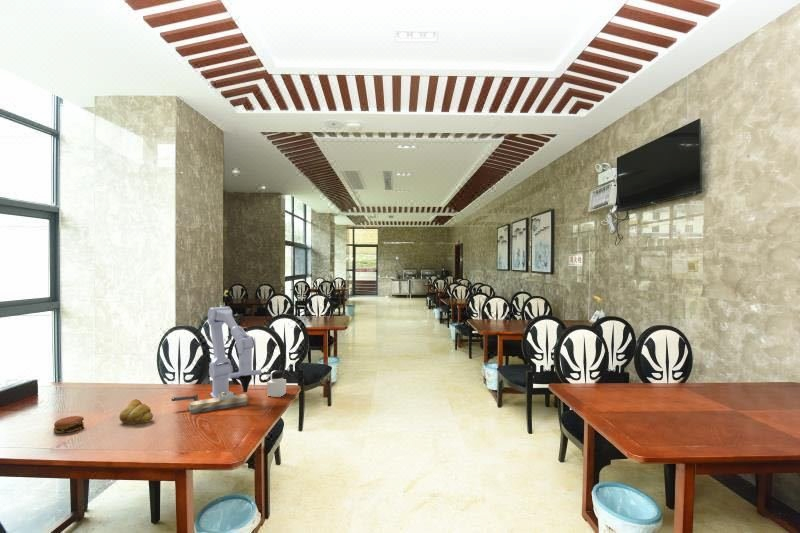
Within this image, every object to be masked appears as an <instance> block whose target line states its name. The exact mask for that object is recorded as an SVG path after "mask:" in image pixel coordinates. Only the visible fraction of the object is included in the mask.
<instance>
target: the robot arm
mask: <svg viewBox="0 0 800 533" xmlns="http://www.w3.org/2000/svg"><path fill="white" fill-rule="evenodd" d="M207 320H208V325H209V326H210V332H211V334H210V335H211V342H212V350H213V359H212V360H211V362H209V367H208V368H209V369H208V375H209V376H210V378H211V379H212V392H210V395H211V397H212V398H218V393H222V392H229V385H230V384H229V379H231V380H232V379H235V378H237V379H238V380H239V382H240V384H241V387H242V392H243V393H247V392H248V388H249V386H250V383H251V381H252V379H253V376H261V375H262V370H261V369H257V370H255V369H254V370H252V366H253V365H252V364H253V363H252V362H253V361H252V357H253V356H252V354H253V348H254V347H255V344H256V343H255V339H254V337H253V336H250V335H249V334H247V332H246V331H245V330H244V328H243V327H242V326H241V325H238V323H237V322H236V319H235V318H234V316H233V310H232V308H231V307H230V306H227V305H226V306H220V307H219V306H218V307H217V306H216V307H210V308H209V309H208V312H207ZM224 324H225V325H226V326H228V328H229V329H230V334H231V336H232V338H233V339H234V340H235V342H236V343H235V346H236V349H237V354H238V371H235V372H233V365H232V361H231V359H229V358H228V357H226V350H225V342H224V333H223V332H224V331H223V325H224Z"/></svg>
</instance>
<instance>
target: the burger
mask: <svg viewBox="0 0 800 533" xmlns="http://www.w3.org/2000/svg"><path fill="white" fill-rule="evenodd" d="M84 419H85V417H83V416H79V415H75V416H74V415H73V416H67V417H63V418H60V419H57V420H56V421H55V422H54V428H53V432H55V433H54V434H63V433H62V432H68V433H72V432H75V430H76V431H79V430H81V429H83V428H84V427H85V423H84V421H85V420H84ZM82 427H83V428H82ZM71 431H72V432H71Z"/></svg>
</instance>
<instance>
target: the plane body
mask: <svg viewBox="0 0 800 533" xmlns="http://www.w3.org/2000/svg"><path fill="white" fill-rule="evenodd" d="M248 399H249V398H248V396H247V394H246V393H239V394H234V399H227V400H221V401H220V400H219V399H218V398H213V397H212V398H205V399H198V400H197V401H194V400H191V401H188V411H189V414H196V413H204V412H211V411H216V410H223V409H229V408H235V407H240V406H247V404H248V405H249V403H248V401H249V400H248Z"/></svg>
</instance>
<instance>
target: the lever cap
mask: <svg viewBox="0 0 800 533" xmlns="http://www.w3.org/2000/svg"><path fill="white" fill-rule="evenodd" d="M234 395H235V394H234V392H233V391H228V392H222V393H218V399H219V400H220V401H221V400H227V399H234Z"/></svg>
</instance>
